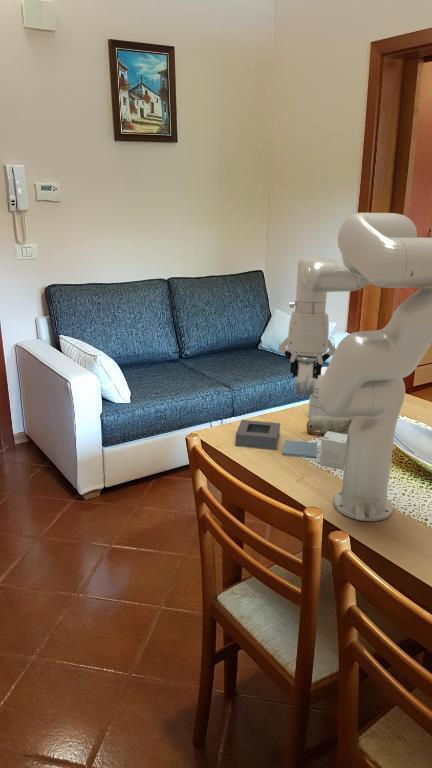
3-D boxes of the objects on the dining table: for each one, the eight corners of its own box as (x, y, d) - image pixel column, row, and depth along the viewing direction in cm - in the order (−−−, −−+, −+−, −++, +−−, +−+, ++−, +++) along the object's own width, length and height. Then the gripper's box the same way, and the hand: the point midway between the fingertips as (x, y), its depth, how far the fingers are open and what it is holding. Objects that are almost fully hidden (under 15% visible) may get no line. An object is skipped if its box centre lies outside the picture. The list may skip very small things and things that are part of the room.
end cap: (315, 396, 144) (318, 359, 141) (291, 394, 145) (294, 357, 142) (315, 389, 150) (318, 353, 147) (293, 387, 151) (295, 351, 148)
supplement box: (319, 409, 184) (323, 365, 179) (345, 416, 179) (349, 370, 174) (307, 417, 177) (310, 371, 172) (333, 424, 172) (337, 377, 167)
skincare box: (348, 460, 147) (350, 434, 145) (342, 469, 142) (345, 442, 139) (325, 456, 149) (327, 430, 147) (319, 464, 144) (321, 438, 142)
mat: (316, 458, 148) (316, 456, 147) (282, 454, 149) (282, 452, 149) (317, 444, 156) (317, 442, 156) (284, 441, 158) (284, 439, 157)
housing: (276, 449, 152) (276, 437, 151) (235, 445, 154) (235, 434, 153) (279, 434, 163) (280, 423, 162) (241, 430, 165) (241, 419, 164)
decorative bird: (307, 430, 167) (309, 406, 165) (362, 437, 163) (365, 412, 160) (304, 436, 162) (306, 412, 160) (362, 444, 158) (364, 419, 156)
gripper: (275, 308, 139) (271, 378, 144) (345, 312, 136) (338, 383, 141) (277, 303, 146) (273, 370, 151) (344, 307, 143) (338, 375, 148)
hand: (305, 376), depth 146 cm, fingers closed on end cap, 5 cm apart
